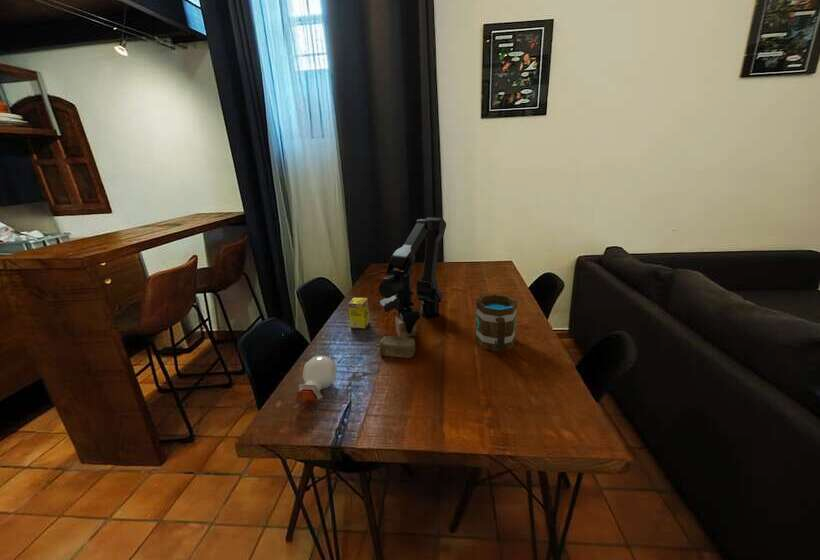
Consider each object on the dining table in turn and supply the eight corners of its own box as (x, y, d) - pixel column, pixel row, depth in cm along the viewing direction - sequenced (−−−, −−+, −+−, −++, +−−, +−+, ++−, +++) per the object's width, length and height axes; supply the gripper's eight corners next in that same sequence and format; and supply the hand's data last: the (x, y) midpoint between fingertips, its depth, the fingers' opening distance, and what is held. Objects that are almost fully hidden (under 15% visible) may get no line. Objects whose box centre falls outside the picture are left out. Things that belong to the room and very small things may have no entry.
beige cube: (411, 328, 131) (410, 314, 129) (416, 335, 126) (415, 320, 124) (396, 331, 129) (395, 316, 127) (400, 338, 124) (399, 323, 122)
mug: (473, 331, 126) (474, 293, 121) (511, 332, 124) (513, 293, 119) (478, 362, 107) (479, 318, 102) (522, 362, 106) (526, 318, 101)
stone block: (384, 347, 119) (383, 334, 117) (416, 350, 116) (416, 336, 115) (379, 356, 113) (378, 343, 112) (413, 359, 111) (412, 345, 109)
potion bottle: (333, 378, 105) (315, 417, 92) (305, 363, 104) (283, 400, 90) (346, 359, 101) (330, 397, 88) (317, 343, 100) (296, 379, 86)
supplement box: (365, 330, 131) (362, 303, 128) (350, 329, 132) (347, 303, 129) (370, 323, 137) (367, 297, 133) (356, 322, 138) (353, 297, 134)
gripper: (375, 283, 128) (379, 321, 133) (387, 301, 111) (390, 344, 116) (404, 279, 131) (406, 316, 136) (419, 296, 114) (421, 338, 119)
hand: (405, 327), depth 127 cm, fingers open, 9 cm apart
